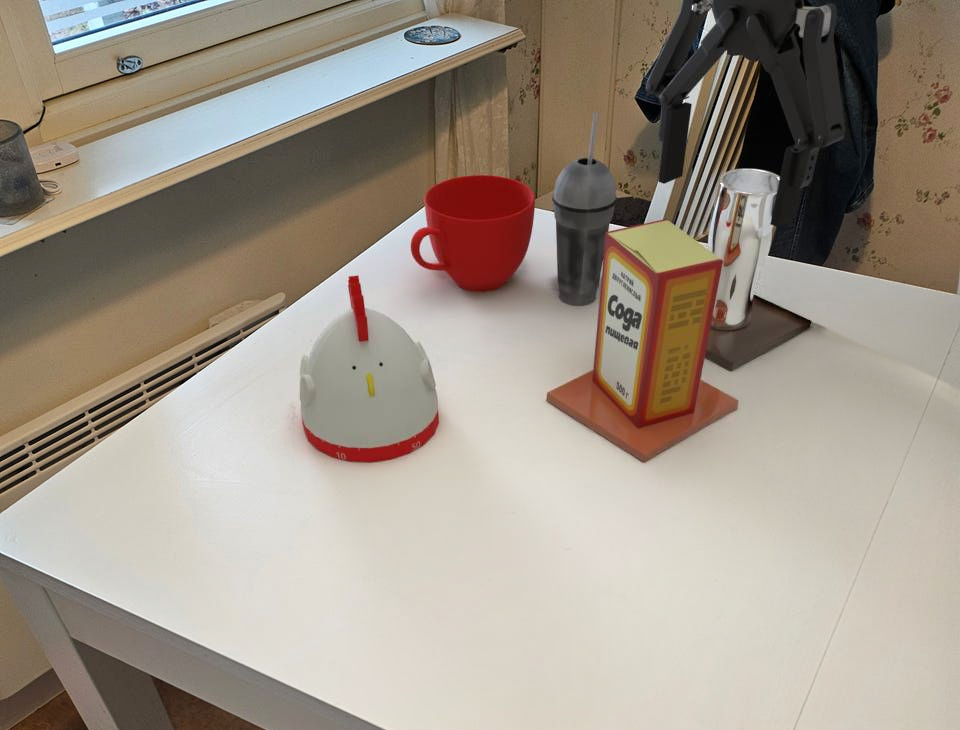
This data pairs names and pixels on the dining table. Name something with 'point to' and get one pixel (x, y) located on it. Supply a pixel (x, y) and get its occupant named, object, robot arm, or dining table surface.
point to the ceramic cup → (477, 229)
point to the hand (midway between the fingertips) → (724, 199)
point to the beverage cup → (582, 224)
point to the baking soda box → (654, 320)
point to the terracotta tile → (613, 424)
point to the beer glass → (741, 241)
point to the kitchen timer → (367, 387)
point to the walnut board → (754, 334)
